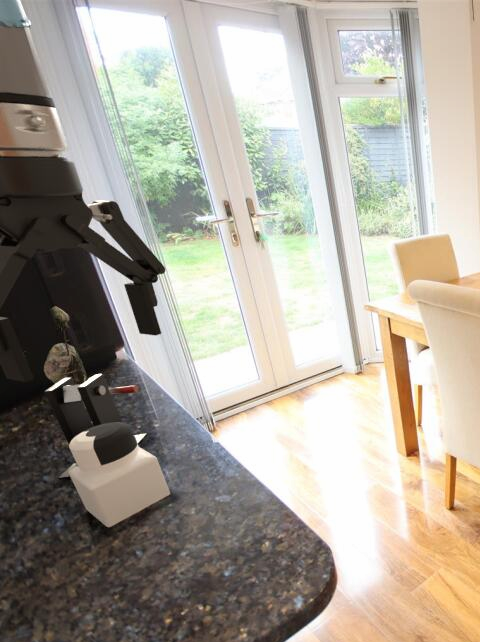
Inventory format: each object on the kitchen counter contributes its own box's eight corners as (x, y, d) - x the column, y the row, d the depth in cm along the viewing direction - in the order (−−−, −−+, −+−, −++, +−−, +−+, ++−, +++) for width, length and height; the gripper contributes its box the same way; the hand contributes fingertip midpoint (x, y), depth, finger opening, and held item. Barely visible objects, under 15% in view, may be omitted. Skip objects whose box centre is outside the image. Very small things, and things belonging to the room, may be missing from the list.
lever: (104, 400, 76) (103, 385, 76) (138, 395, 77) (137, 381, 77) (52, 404, 65) (50, 387, 66) (92, 399, 66) (91, 383, 67)
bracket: (101, 446, 76) (68, 371, 71) (149, 439, 77) (120, 365, 72) (61, 485, 67) (20, 402, 62) (116, 477, 68) (80, 394, 63)
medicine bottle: (149, 483, 66) (119, 411, 62) (173, 499, 63) (144, 424, 58) (88, 514, 61) (50, 437, 56) (111, 534, 57) (73, 454, 53)
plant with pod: (104, 388, 96) (66, 296, 88) (111, 407, 88) (70, 307, 81) (51, 403, 90) (6, 306, 83) (54, 424, 83) (5, 319, 75)
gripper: (-157, 152, 33) (-29, 410, 41) (169, 155, 55) (211, 322, 63) (-216, 153, 35) (-83, 399, 43) (122, 156, 57) (169, 317, 65)
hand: (93, 353), depth 53 cm, fingers open, 13 cm apart
